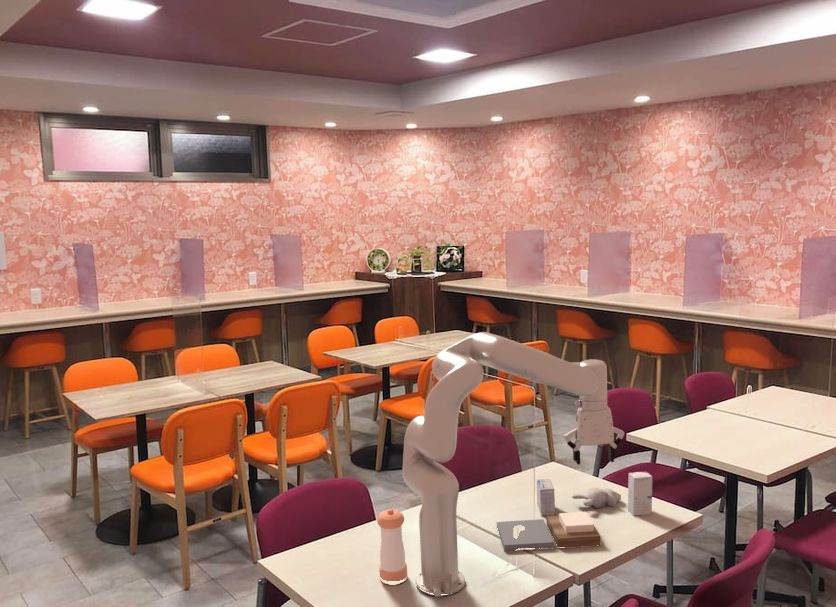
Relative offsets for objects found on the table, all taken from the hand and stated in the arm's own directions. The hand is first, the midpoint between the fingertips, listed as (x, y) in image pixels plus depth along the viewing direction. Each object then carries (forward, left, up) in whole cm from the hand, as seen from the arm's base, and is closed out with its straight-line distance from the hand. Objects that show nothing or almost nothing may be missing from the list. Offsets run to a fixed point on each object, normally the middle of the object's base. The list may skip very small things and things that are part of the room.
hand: (594, 461), depth 203 cm
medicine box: (+17, +10, -22) cm, 30 cm away
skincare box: (+12, -18, -22) cm, 31 cm away
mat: (0, +20, -22) cm, 30 cm away
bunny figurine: (+18, -6, -22) cm, 30 cm away
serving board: (0, +6, -22) cm, 23 cm away
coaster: (0, +5, -19) cm, 20 cm away
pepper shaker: (-17, +58, -22) cm, 65 cm away
